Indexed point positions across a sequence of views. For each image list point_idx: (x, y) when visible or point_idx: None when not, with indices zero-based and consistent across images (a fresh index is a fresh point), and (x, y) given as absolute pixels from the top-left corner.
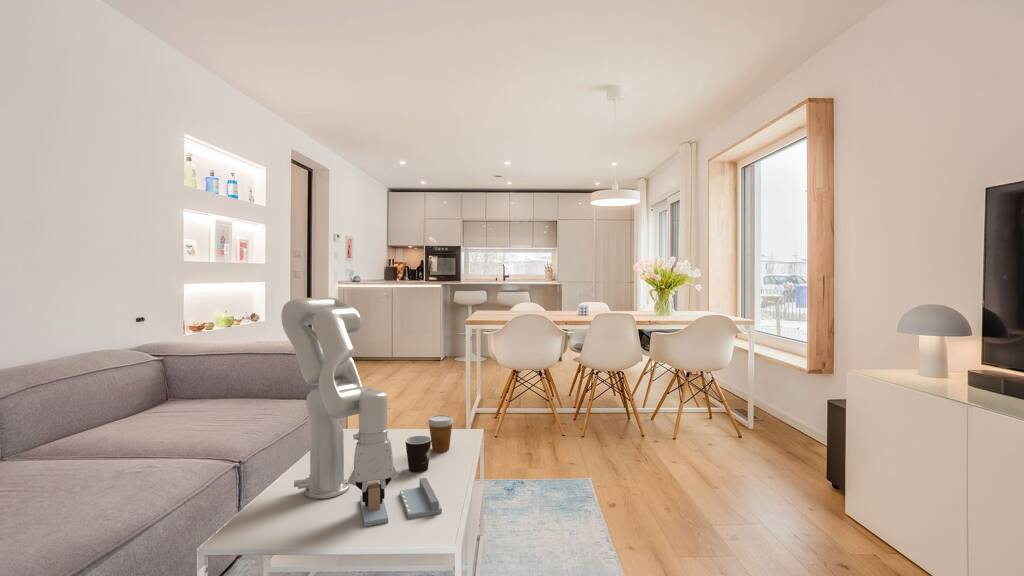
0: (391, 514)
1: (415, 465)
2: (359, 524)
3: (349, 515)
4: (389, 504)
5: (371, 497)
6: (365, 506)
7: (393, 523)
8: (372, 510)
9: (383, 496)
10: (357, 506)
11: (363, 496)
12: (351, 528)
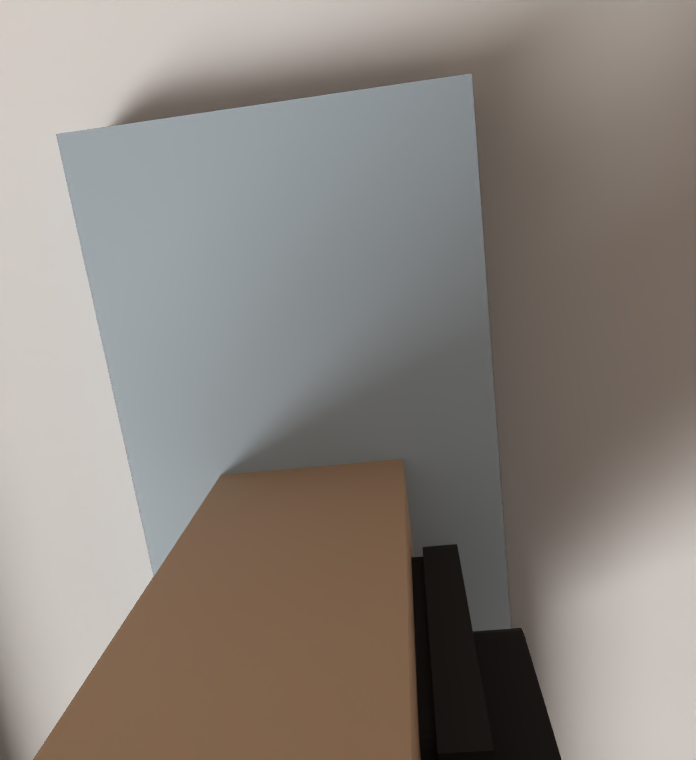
0: (77, 399)
1: None
2: (540, 204)
3: (679, 533)
4: None
5: (335, 590)
6: None
7: (16, 98)
8: (340, 463)
9: None
10: None
11: (528, 708)
12: (671, 95)
